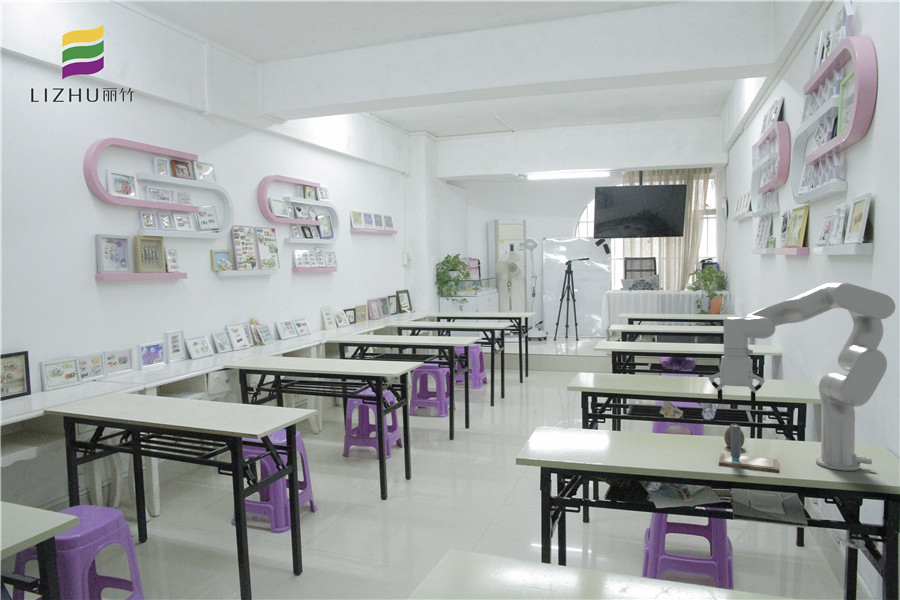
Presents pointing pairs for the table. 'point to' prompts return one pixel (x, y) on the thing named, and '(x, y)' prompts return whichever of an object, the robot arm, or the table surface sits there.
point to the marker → (735, 442)
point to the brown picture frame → (750, 462)
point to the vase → (728, 437)
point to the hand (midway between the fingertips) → (736, 402)
